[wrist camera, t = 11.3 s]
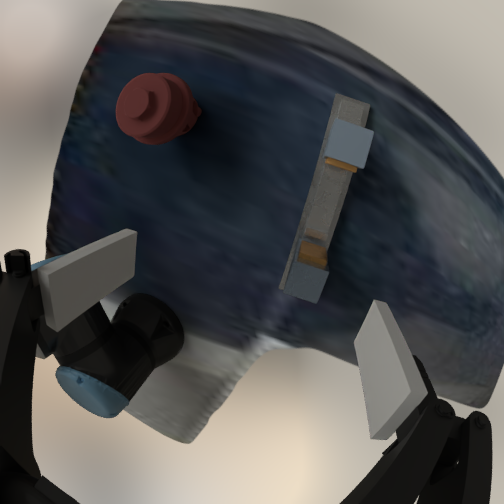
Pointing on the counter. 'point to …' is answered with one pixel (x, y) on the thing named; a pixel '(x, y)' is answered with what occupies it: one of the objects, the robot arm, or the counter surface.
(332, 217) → the rail
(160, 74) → the mechanical component
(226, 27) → the counter surface
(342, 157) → the pale blue-grey block
